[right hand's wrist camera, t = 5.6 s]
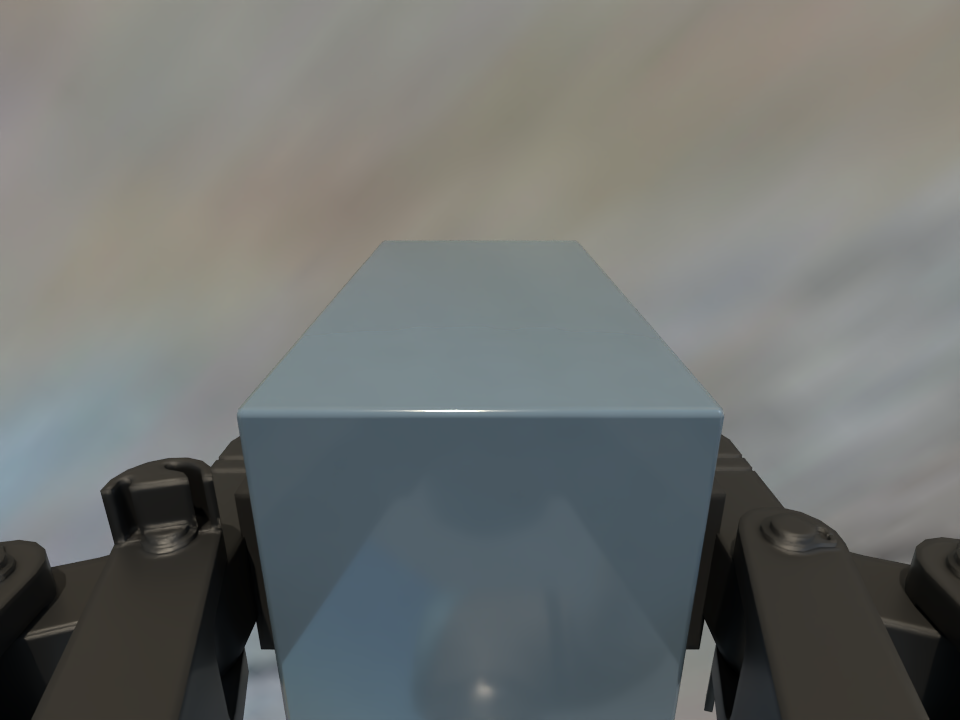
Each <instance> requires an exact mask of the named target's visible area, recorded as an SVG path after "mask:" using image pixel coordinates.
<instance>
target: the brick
mask: <svg viewBox="0 0 960 720" xmlns="http://www.w3.org/2000/svg"><path fill="white" fill-rule="evenodd" d="M723 420H724V413H723V409H722V408H721V407H720V405H719V404H718V403H717V402H716V401H715V400H714V398H713V397H712V396H711V395H710V394H709V393H708V391H707V390H706V389H705V388H704V387H703V386H702V385H701V383H700V382H699V381H698V380H697V379H696V378H695V376H694V375H693V374H692V373H691V372H690V371H689V370H688V368H687V367H686V366H685V365H684V364H683V363H682V361H681V360H680V359H679V358H678V357H677V356H676V354H675V353H674V352H673V351H672V350H671V349H670V348H669V346H668V345H667V344H666V343H665V342H664V341H663V339H662V338H661V337H660V336H659V335H658V334H657V333H656V331H655V330H654V329H653V328H652V327H651V326H650V324H649V323H648V322H647V321H646V320H645V319H644V317H643V316H642V315H641V314H640V313H639V312H638V311H637V309H636V308H635V307H634V306H633V305H632V304H631V302H630V301H629V300H628V299H627V298H626V297H625V296H624V294H623V293H622V292H621V291H620V290H619V289H618V287H617V286H616V285H615V284H614V283H613V282H612V280H611V279H610V278H609V277H608V276H607V275H606V274H605V272H604V271H603V270H602V269H601V268H600V267H599V265H598V264H597V263H596V262H595V261H594V260H593V259H592V257H591V256H590V255H589V254H588V253H587V252H586V250H585V249H584V248H583V247H582V246H581V245H580V243H579V242H577V241H383V242H382V243H381V244H380V245H379V246H378V247H377V249H376V250H375V251H374V252H373V253H372V254H371V256H370V257H369V258H368V259H367V260H366V261H365V262H364V264H363V265H362V266H361V267H360V268H359V269H358V271H357V272H356V273H355V274H354V275H353V276H352V278H351V279H350V280H349V281H348V282H347V283H346V285H345V286H344V287H343V288H342V289H341V290H340V291H339V293H338V294H337V295H336V296H335V297H334V298H333V300H332V301H331V302H330V303H329V304H328V305H327V307H326V308H325V309H324V310H323V311H322V312H321V314H320V315H319V316H318V317H317V318H316V319H315V320H314V322H313V323H312V324H311V325H310V326H309V327H308V329H307V330H306V331H305V332H304V333H303V334H302V336H301V337H300V338H299V339H298V340H297V341H296V343H295V344H294V345H293V346H292V347H291V348H290V349H289V351H288V352H287V353H286V354H285V355H284V356H283V358H282V359H281V360H280V361H279V362H278V363H277V365H276V366H275V367H274V368H273V369H272V370H271V372H270V373H269V374H268V375H267V376H266V377H265V378H264V380H263V381H262V382H261V383H260V384H259V385H258V387H257V388H256V389H255V390H254V391H253V392H252V394H251V395H250V396H249V397H248V398H247V399H246V401H245V402H244V403H243V404H242V405H241V406H240V407H239V409H238V412H237V421H238V427H239V433H240V439H241V445H242V451H243V457H244V464H245V470H246V476H247V482H248V488H249V494H250V500H251V506H252V513H253V519H254V525H255V531H256V537H257V543H258V549H259V555H260V562H261V568H262V574H263V580H264V586H265V592H266V598H267V604H268V611H269V617H270V623H271V629H272V635H273V641H274V647H275V653H276V660H277V666H278V672H279V678H280V684H281V690H282V696H283V702H284V709H285V715H286V720H674V719H675V713H676V707H677V701H678V694H679V688H680V682H681V676H682V670H683V664H684V658H685V652H686V646H687V640H688V633H689V627H690V621H691V615H692V609H693V603H694V597H695V591H696V585H697V578H698V572H699V566H700V560H701V554H702V548H703V542H704V536H705V530H706V524H707V517H708V511H709V505H710V499H711V493H712V487H713V481H714V475H715V469H716V463H717V456H718V450H719V444H720V438H721V432H722V426H723Z"/></svg>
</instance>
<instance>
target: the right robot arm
mask: <svg viewBox="0 0 960 720" xmlns="http://www.w3.org/2000/svg"><path fill="white" fill-rule="evenodd" d="M100 492H101V495H102V499H103V503H104V507H105V510H106V514H107V518H108V521H109V525H110V529H111V533H112V536H113V540H114V544H115V545H114V547H113V549H112V551H111V553H110V555H107V556H104V557H100V558H95V559H90V560H85V561H80V562H75V563H70V564H65V565H60V566H55V567H51V566H50V563H49V560H48V557H47V554H46V551H45V549H44V548H43V547H41V546H40V545H39V544H37V543H36V542H31V541H23V540H15V541H6V542H0V720H243V716H244V707H245V699H246V690H247V682H248V673H249V671H248V664H247V658H246V652H245V645H246V642H247V640H248V638H249V636H250V634H251V631H252V629H253V627H254V625H255V623H257V628H258V634H259V640H260V646H261V649H275V647H274V641H273V635H272V629H271V623H270V617H269V611H268V604H267V598H266V592H265V586H264V580H263V574H262V568H261V562H260V555H259V549H258V543H257V537H256V531H255V525H254V519H253V513H252V506H251V500H250V494H249V488H248V482H247V476H246V470H245V464H244V457H243V451H242V445H241V439H240V436H239V437H238V438H236V439H235V440H233V441H231V442H230V444H229V445H228V446H227V447H226V449H225V450H224V451H223V453H222V454H221V455H220V456H219V460H216V461H215V463H214V464H213V465H212V466H211V467H210V466H208V465H207V464H206V463H204V462H203V461H201V460H196V459H191V458H167V459H162V460H157V461H152V462H147V463H145V464H142V465H139V466H136V467H134V468H131V469H128V470H126V471H125V472H123V473H121V474H120V475H118V476H116V477H115V478H113V479H111V480H110V481H109V482H108V483H107V484H106V485H105V486H104V487H103V488H102V490H101V491H100ZM704 619H705V621H706V623H707V625H708V627H709V630H710V632H711V634H712V636H713V638H714V641H715V643H716V647H715V652H714V658H713V663H712V668H711V674H710V679H709V684H708V690H707V695H706V701H705V708H704V710H705V711H709V712H712V711H713V706H714V701H715V706H716V714H717V720H960V539H952V538H944V537H941V538H933V539H926V540H924V541H923V542H922V543H920V544H919V545H918V546H916V549H915V553H914V556H913V559H912V562H911V565H908V564H903V563H898V562H893V561H888V560H883V559H878V558H873V557H868V556H863V555H859V554H856V553H852V552H849V550H848V548H847V546H846V544H845V542H844V541H843V540H842V538H841V537H840V536H839V535H838V533H837V532H836V531H835V530H833V529H832V528H830V527H829V526H827V525H826V524H825V523H823V522H822V521H820V520H818V519H816V518H813V517H811V516H809V515H806V514H804V513H802V512H798V511H794V510H790V509H785V508H784V507H783V506H782V504H781V503H780V502H779V501H778V499H777V498H776V497H775V496H774V494H773V493H772V492H771V491H770V489H769V488H768V487H767V486H766V484H765V483H764V482H763V481H762V479H761V478H760V477H759V476H758V474H757V473H756V472H755V471H752V467H751V466H750V464H749V463H748V462H747V461H746V459H745V458H742V454H741V453H740V452H739V451H738V449H737V448H736V447H735V446H734V444H733V443H732V442H731V441H730V440H729V439H728V438H726V437H725V436H723V435H721V438H720V444H719V450H718V456H717V463H716V469H715V475H714V481H713V487H712V493H711V499H710V505H709V511H708V517H707V524H706V530H705V536H704V542H703V548H702V554H701V560H700V566H699V572H698V578H697V585H696V591H695V597H694V603H693V609H692V615H691V621H690V627H689V633H688V640H687V646H686V649H699V648H700V642H701V636H702V631H703V625H704Z"/></svg>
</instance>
